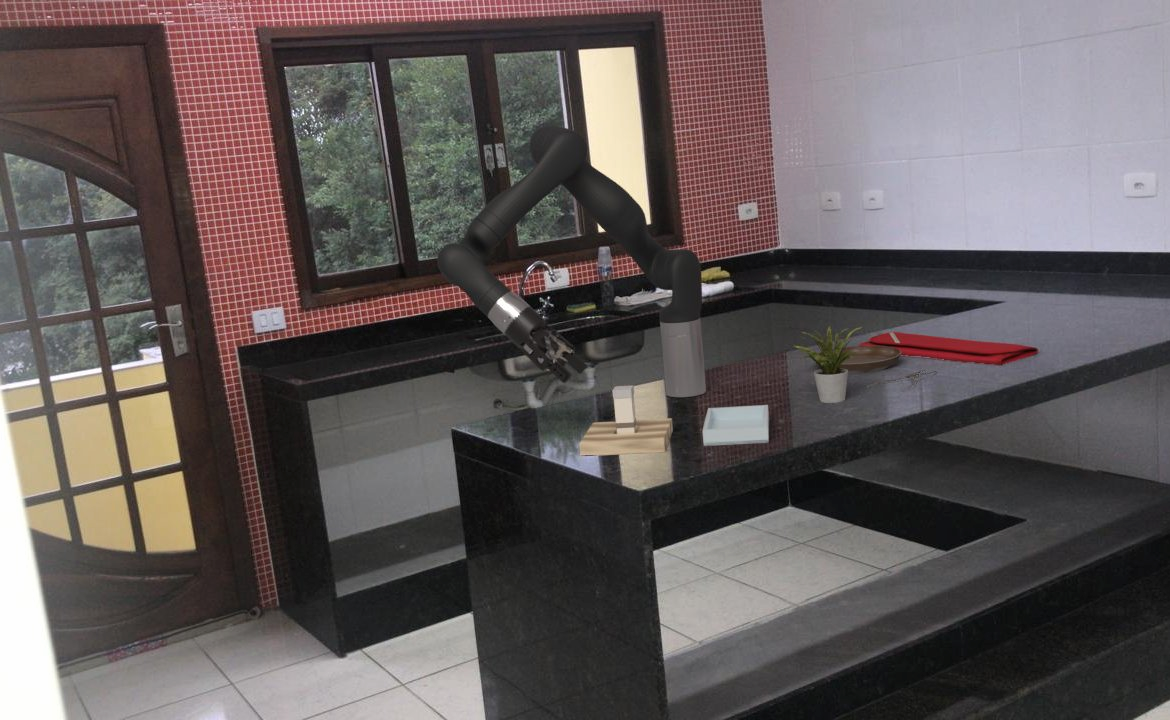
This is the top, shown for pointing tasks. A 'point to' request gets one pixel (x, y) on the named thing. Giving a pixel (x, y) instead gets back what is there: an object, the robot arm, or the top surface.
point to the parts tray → (736, 425)
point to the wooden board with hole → (627, 438)
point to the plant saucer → (869, 358)
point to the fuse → (624, 409)
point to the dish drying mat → (952, 348)
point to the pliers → (902, 378)
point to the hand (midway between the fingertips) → (576, 374)
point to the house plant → (830, 366)
